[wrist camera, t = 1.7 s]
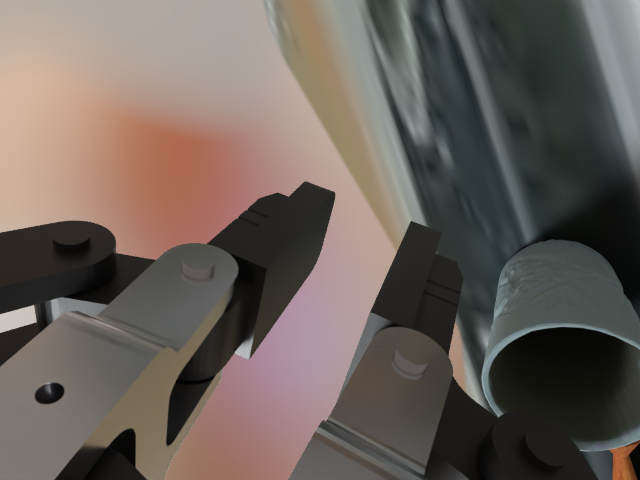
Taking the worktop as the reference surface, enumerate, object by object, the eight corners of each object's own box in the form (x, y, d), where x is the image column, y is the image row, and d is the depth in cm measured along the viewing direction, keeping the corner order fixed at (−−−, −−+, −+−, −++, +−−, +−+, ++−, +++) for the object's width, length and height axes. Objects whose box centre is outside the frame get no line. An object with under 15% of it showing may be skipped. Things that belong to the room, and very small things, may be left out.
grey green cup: (473, 250, 40) (457, 341, 30) (610, 211, 35) (645, 306, 25) (516, 345, 43) (514, 458, 33) (649, 322, 37) (693, 448, 28)
